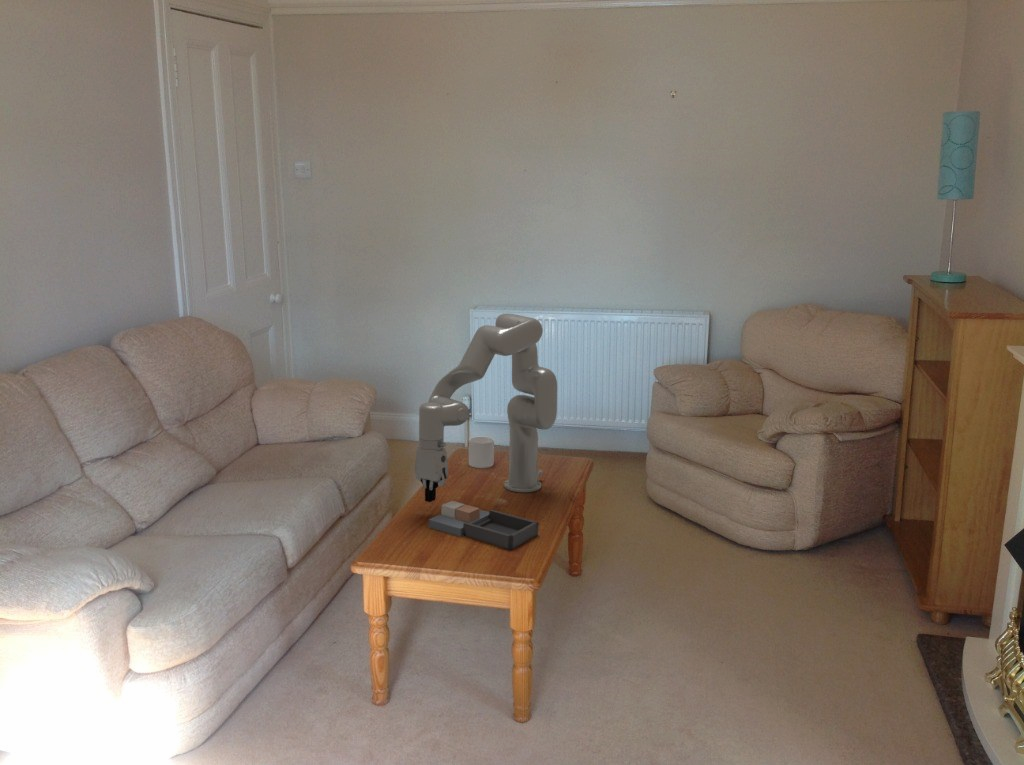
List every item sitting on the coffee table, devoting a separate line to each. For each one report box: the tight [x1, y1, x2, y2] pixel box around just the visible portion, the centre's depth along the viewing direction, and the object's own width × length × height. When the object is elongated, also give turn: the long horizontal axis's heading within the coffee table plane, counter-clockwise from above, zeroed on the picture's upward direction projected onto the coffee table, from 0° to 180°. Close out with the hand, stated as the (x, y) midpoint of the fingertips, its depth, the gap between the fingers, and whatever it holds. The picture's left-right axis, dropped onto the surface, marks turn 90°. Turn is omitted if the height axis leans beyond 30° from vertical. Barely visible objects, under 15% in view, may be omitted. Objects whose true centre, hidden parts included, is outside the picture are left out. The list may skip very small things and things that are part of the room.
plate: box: [428, 509, 489, 537], centre depth 292 cm, size 16×12×2 cm
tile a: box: [440, 500, 466, 518], centre depth 293 cm, size 5×5×3 cm
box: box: [462, 509, 539, 551], centre depth 283 cm, size 14×17×4 cm
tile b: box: [456, 504, 481, 522], centre depth 290 cm, size 5×5×3 cm
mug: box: [468, 435, 495, 469], centre depth 349 cm, size 12×9×9 cm
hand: (430, 500), depth 297 cm, fingers closed
